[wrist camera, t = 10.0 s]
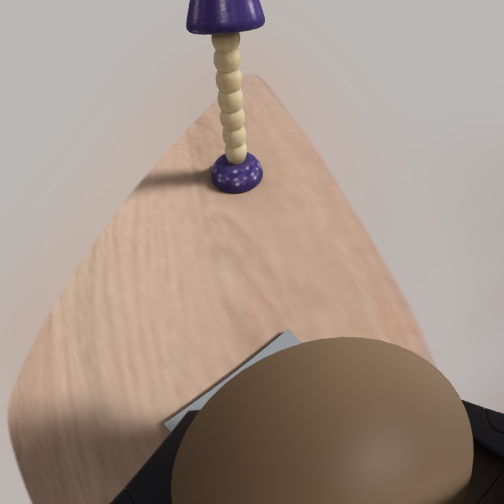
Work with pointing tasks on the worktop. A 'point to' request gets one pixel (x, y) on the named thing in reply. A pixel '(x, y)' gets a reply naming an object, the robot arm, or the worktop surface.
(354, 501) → the walnut stool
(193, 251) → the worktop surface
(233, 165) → the toy lamp
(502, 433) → the robot arm
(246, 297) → the worktop surface
